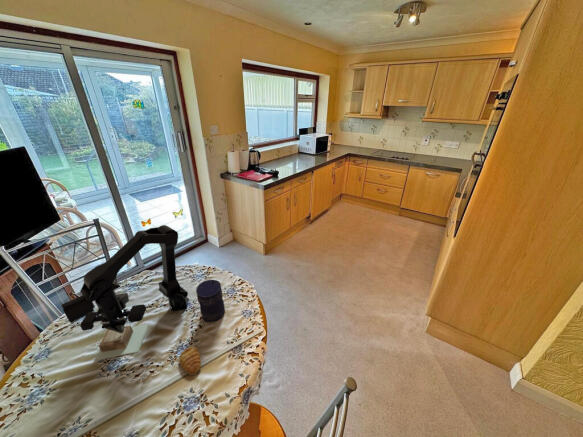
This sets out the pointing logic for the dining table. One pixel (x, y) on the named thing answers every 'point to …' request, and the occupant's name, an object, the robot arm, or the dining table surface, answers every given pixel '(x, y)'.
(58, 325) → the dining table surface
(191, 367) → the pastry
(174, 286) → the robot arm
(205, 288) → the storage jar
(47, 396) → the dining table surface
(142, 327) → the mat
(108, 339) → the wooden block
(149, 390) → the dining table surface
